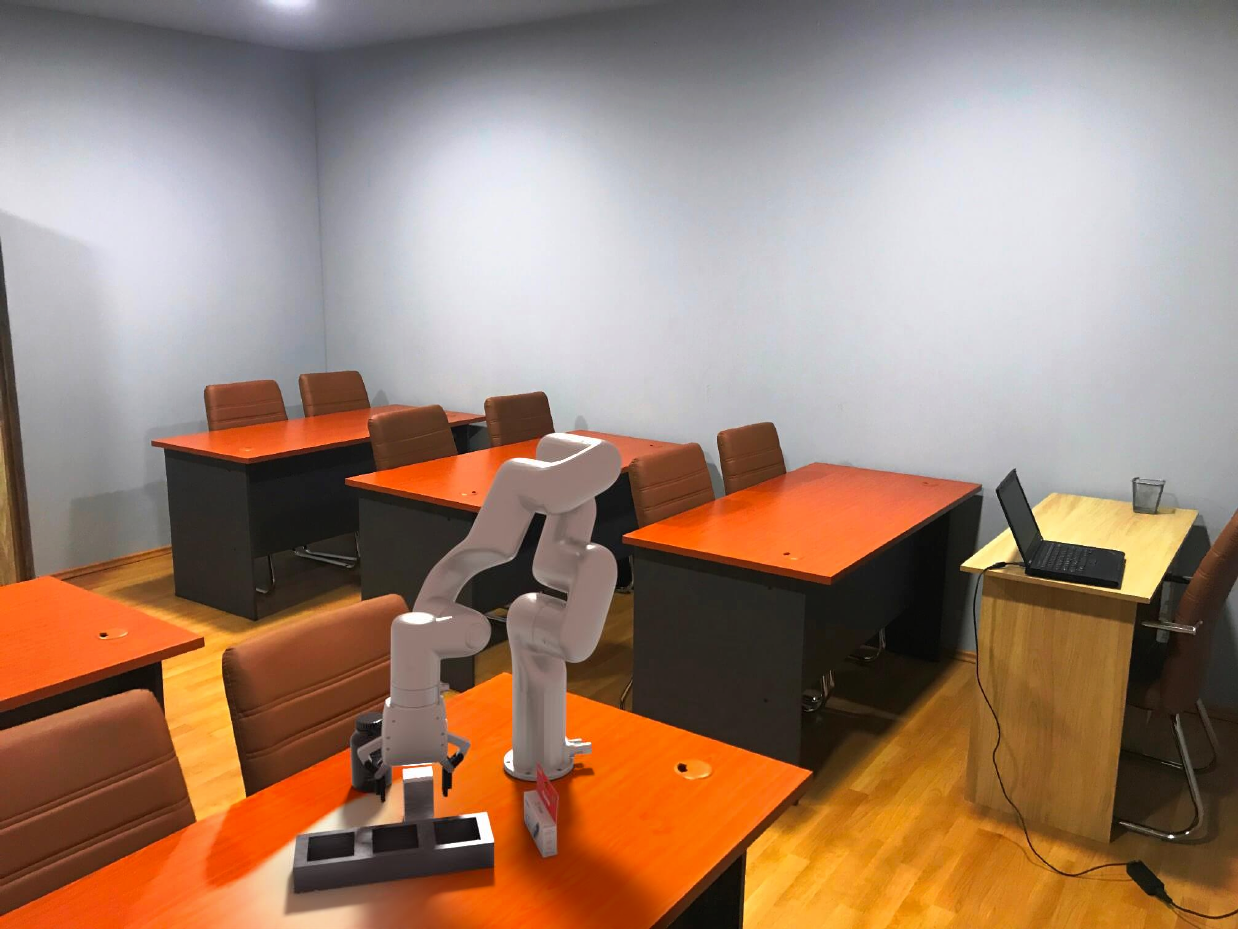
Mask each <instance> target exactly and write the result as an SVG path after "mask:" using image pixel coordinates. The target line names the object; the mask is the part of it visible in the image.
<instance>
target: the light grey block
mask: <svg viewBox="0 0 1238 929" xmlns="http://www.w3.org/2000/svg"><path fill="white" fill-rule="evenodd" d="M434 781H435V780H434V775H433V768H432V766H426V767H425V766H424V767H423V766H422V767H421V766H420V767H413V768H412V767H411V768H403V769H402V793H403V795H402V797H403V798H402V799H403V800H402V801H403V822H408V821H416V820H425V819H433V818H435V802H434V801H435V799H434V798H435V797H434V796H435V795H434V792H435V791H434V789H435V788H434V785H435V784H434Z"/></svg>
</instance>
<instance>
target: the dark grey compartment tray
mask: <svg viewBox="0 0 1238 929" xmlns="http://www.w3.org/2000/svg"><path fill="white" fill-rule="evenodd" d="M490 824H491V822H490V819H489V816H488V812H487V811H483V812H477V813H468V814H459V815H451V816H443V817H434V818H433V819H425V820H416V821H408V822H404V821H401V822H399V821H398V822H392V823H384V824H376V825H366V826H359V827H358V826H357V827H350V828H342V829H333V830H326V831H317V832H308V833H301V834H296V837H295V846H294V853H293V854H294V855H293V863H292V877H293V881H292V883H293V894H294V893H297V894H303V893H310V892H316V891H315V890H319V891H324V890H327V891H328V890H333V888H334V889H340V888H347V887H355V886H362V885H369V884H378V883H386V882H392V881H399V880H407V879H415V878H421V877H429V876H436V875H445V874H452V873H457V872H458V873H459V872H466V871H474V870H480V869H482V870H483V869H489V868H495V839H494V835H493V832H492V828H491V825H490ZM301 892H302V893H301Z"/></svg>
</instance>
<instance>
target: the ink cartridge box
mask: <svg viewBox="0 0 1238 929" xmlns="http://www.w3.org/2000/svg"><path fill="white" fill-rule="evenodd" d="M545 783H546V784H547V787H548V789H547V788H546V785H545ZM559 797H560V796H559V794H558V792H557V790H556V789H555V787H554V786H553V784H552V783H551V780H549V779H548V778H547V776H546V775H545V773H544V772H543V770H542V768H541V767H540V765H539V763H537V781H536V789H534V790H528V791H524V792H523V811H524V812H523V818H524V819H523V821H524V822H525V825H526V827H527V829H528V831H529V833H530V835H531V837H532V839H533V841H534V843H535V844H536V847H537V848H538V851H539V852H540V855H541V857H542V858H548V857H552V856H557V854H558V833H557V832H558V829H557V828H558V827H557V819H558V810H559V809H558V808H559Z"/></svg>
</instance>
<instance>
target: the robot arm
mask: <svg viewBox="0 0 1238 929" xmlns="http://www.w3.org/2000/svg"><path fill="white" fill-rule="evenodd" d="M535 452H536V453H535V459H531V458H526V457H523V458H522V457H515V458H510V459H508V460H506V461H504V462H503V463H502V464H501V465H500V466H499V468H498V469H497V472H496V473H495V476H494V478H493V481H492V482H491V485H490V487H489V489H488V491H487V494H486V496H485V499H484V501H483V503H482V505H481V507H480V509H479V511H478V514H477V516H476V518H475V520H474V522H473V525H472V527H471V528H470V531H469V533H468V534H467V536H465V537H466V538H464V540H462V541H461V542H460V543H458V544H457V545H455V547H453V548H452V549H450V551H448V553H447V554H445V555H444V557H442V558H441V559H440V560H439V561H438V562H437V563H436V564H435V565H434V566H433V568H432V569H431V570H430V572H429V573H428V575H427V576H426V578H425V580H424V582H423V584H422V587H421V589H420V591H419V593H418V595H417V598H416V600H415V602H414V605H413V607H412V608H413V609H412V612H406V613H402V614H400V615H397V616H395V618H394V619H393V620H392V623H391V627H390V692H389V693H390V694H389V695H390V697H388V698H386V699H385V702H384V707H383V711H382V714H383V719H382V732H381V736H380V737H378V738H376V739H375V740H373V741H371V742H369V743H367V744H365V745H364V746H362V747H360V748H358V756H359V758H360V760H361V762H362V763H363V765H364V767H365V768H366V769H367V770H368V771H369V772H370V773H372V774H373V775H374V777H375V778H376V791H375V796H379V797H380V803H381V804H384V803H385V802H386V788H387V787H386V779H385V773H386V772H387V770H388V769H389V768H390V767H392V768H394V767H395V768H396V767H410V766H419V765H420V766H421V765H431V764H432V765H433V764H434V765H435V764H439V765H440V766H441V792H442V796H443V798H448V797H449V790H452V789H453V773H454V771H455V770H456V768H457V767H458V766H459V765H460V764H461V763H462V762H463V761H464V760H465V757H466V755H467V753H468V751H469V749H470V748H471V742H470V740H469V739H468V738H464V737H462V736H459V735H458V734H455V733H452V732H450V731H448V720H447V710H446V702H445V698H444V696H443V694H445V693H449V692H450V684H449V683H445V682H442V681H441V660H444V659H452V658H453V659H454V658H465V657H470V656H473V655H476V654H478V653H480V651H482V650H484V648H485V647H486V646H487V645H488V643H489V641H490V639H491V635H492V627H491V623H490V622H489V621H490V620H489V619H487V617H486V616H485V615H484V614H482V613H481V612H479V611H477V610H475V609H473V608H471V607H467V606H464V605H462V604H460V603H457V602H456V600H457V598H458V595H459V593H460V592H461V590H462V588H463V587H464V586H465V585H466V584H467V582H468V581H469V580H471V578H473V577H474V576H475V575H477V574H478V573H480V572H482V571H484V570H487V569H490V568H492V567H495V566H498V565H502V564H505V563H507V562H510V561H512V560H513V559H514V558H515V557H516V556H517V554H518V552H519V551H520V550H519V549H520V548H521V546H522V543H523V540H524V538H525V536H526V534H527V531H528V529H529V528H530V527H529V526H530V525H531V522H532V519H533V518H534V515H535V514H536V513H537V514H543V515H546V518H545V521H544V525H543V528H542V531H541V535H540V538H539V541H538V544H537V548H536V551H535V554H534V558H533V563H532V575H533V577H534V578H535V580H536V581H537V582H539V584H541V585H544V586H546V587H548V588H551V589H553V590H557V591H558V592H559V591H560V592H562V593H566V594H568V595H567V596H568V597H567V601H566V600H564V599H561V598H557V597H554V596H551V595H548V594H544V593H540V592H529V593H525V594H522V595H519V596H518V597H517V598H516V599H515V600H514V601H513V602H512V603H511V604H510V607H509V608H508V612H507V614H506V631H507V632H506V633H507V637H508V642H509V647H510V653H511V665H512V666H511V667H512V672H511V674H512V675H511V676H512V678H511V679H512V683H511V685H512V686H511V687H512V689H511V690H512V691H511V692H512V693H511V694H512V696H511V697H512V702H511V703H512V706H511V707H512V708H511V709H512V712H511V713H512V715H511V716H512V717H511V718H512V719H511V720H512V721H511V722H512V723H511V724H512V725H511V726H512V729H511V730H512V731H511V733H512V734H511V736H512V737H511V740H512V741H511V744H512V747H511V750H509V751H508V752H507V753H506V754H505V755H504V757H503V763H502V764H503V769H504V770H505V772H507V774H509V775H510V776H512V777H514V778H516V779H519V780H522V781H528V782H537V763H539V765H540V767H541V768H542V770H543V772H544V773H545V775H546V776H547V778H548V779H549V781H551V780H556V779H559V778H561V777H564V776H566V775H567V774H569V772H571V771H572V770H573V768H574V766H573V765H575V758H574V757H575V756H576V755H588V754H592V752H593V747H592V743H591V742H583V739H582V738H574V739H569V738H567V736H566V734H567V731H566V730H567V728H566V727H567V726H566V725H567V666H566V662H568V663H574V664H575V663H580V662H583V661H585V660H587V659H589V657H590V656H591V655H592V654H593V653H594V651H595V649H596V647H597V645H598V643H599V641H600V638H601V636H602V631H603V629H604V626H605V623H606V619H607V615H608V612H609V610H610V606H611V603H612V599H613V596H614V592H615V588H616V585H617V581H618V580H617V579H618V564H617V561H616V558H615V555H614V554H613V552H612V551H610V549H608V548H607V547H605V546H603V545H601V544H598V543H595V542H591V537H592V533H593V529H594V526H595V521H596V518H597V503H596V499H595V497H596V496H598V495H600V494H601V493H604V492H605V491H606V490H608V489H609V488H610V487H611V486H613V484H614V483H615V482H616V481H617V480H618V478H619V476H620V474H621V472H622V467H623V458H622V454H621V452H620V450H619V449H618V446H616V445H615V444H614V443H612V442H610V441H608V440H605V439H601V438H595V437H589V436H582V435H578V434H571V433H563V432H553V433H549V434H545V435H544V436H543V437H541V439H540V440H539V441H538V443H537V446H536V450H535ZM448 744H451V745H452V746H456V747H458V748H457V751H455V753H453V754H452V755H451V757H450V755H448V752H449V748H448V747H449V745H448ZM379 748H381V753H382V758H381V759H380V760H379V761H378V762H377V763H376V762H375V761H374V760H373V759H371V758H370V756H369V754H370V753H372V752H374V751H376V750H377V749H379Z"/></svg>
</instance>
